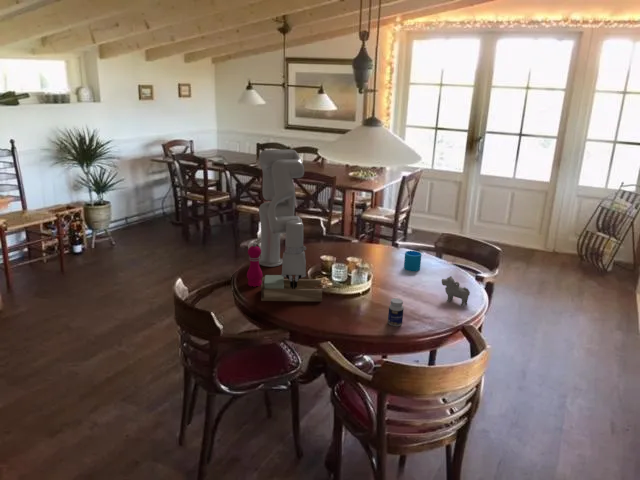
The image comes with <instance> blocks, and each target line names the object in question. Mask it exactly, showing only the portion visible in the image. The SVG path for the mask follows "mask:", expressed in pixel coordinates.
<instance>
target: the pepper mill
mask: <svg viewBox="0 0 640 480" xmlns="http://www.w3.org/2000/svg"><path fill="white" fill-rule="evenodd" d="M247 255H248V260H249V268H248V270H247V272H246V278H247V279H248V280H247V285H248V286H249V287H252V286H253V288H254V287H255V288H257V287H256V286H258V287H261V285H262V279H263V277H264V276H263V271H262V268H261V265H260V264H259V260H260V258H261V247H260V246H258V245H257V243H255V242H253V243H252V245H251V246H250V247H249V248H248V250H247Z"/></svg>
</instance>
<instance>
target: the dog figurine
mask: <svg viewBox="0 0 640 480" xmlns="http://www.w3.org/2000/svg"><path fill="white" fill-rule="evenodd" d="M441 285H442V286H445V293H446V295H447V299H446V302H447V303H450V302H449V301H451V300H453V299H454V297H455V298H458V299H461V303H460V305H461V306H460V307H464V305H465V304H467V303H468V300H469V296H470V294H471V292H470V290H469V288H468V287H467V288H466V287H465V286H464V287H461V286H460V283H459V282H458V281H455V279H454V278H453V277H452V276H449V277H447V278H445V279H444V278H442V279H441Z"/></svg>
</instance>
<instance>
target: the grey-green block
mask: <svg viewBox="0 0 640 480" xmlns="http://www.w3.org/2000/svg"><path fill="white" fill-rule="evenodd" d="M264 277H265V281H264V289H284V279H285V277H283V276H281V274H265V275H264Z"/></svg>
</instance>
